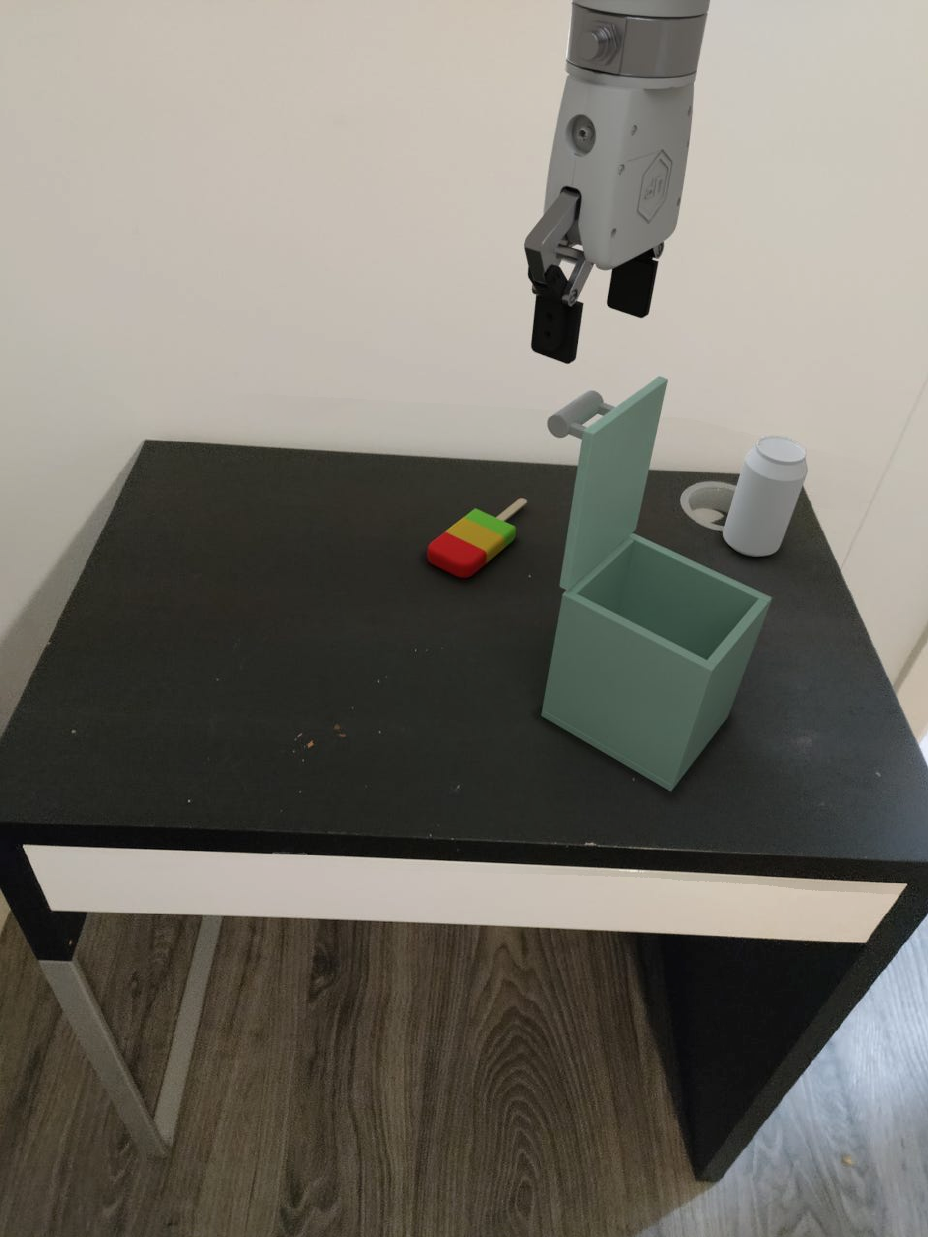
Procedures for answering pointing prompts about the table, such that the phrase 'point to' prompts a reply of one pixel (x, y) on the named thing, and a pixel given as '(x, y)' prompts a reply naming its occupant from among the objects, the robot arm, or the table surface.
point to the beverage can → (765, 496)
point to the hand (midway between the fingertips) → (591, 333)
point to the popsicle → (473, 541)
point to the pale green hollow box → (651, 657)
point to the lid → (607, 472)
